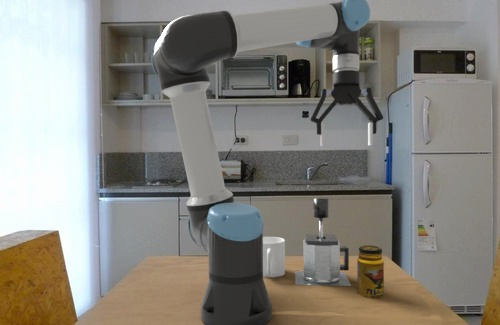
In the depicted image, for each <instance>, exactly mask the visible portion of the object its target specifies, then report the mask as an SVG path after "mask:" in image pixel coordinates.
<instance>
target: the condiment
mask: <svg viewBox="0 0 500 325" xmlns="http://www.w3.org/2000/svg"><path fill="white" fill-rule="evenodd" d="M358 251H359V252H358V258H357V263H356V264H357V266H356V267H357V269H356V270H357V284H356V285H357V292H356V293H357V294H358V295H359V296H361V297H362V298H363V297H364V298H367V299H381V298H383V297H384V295H385V294H384V293H385V286H384V284H385V280H384V279H385V277H384V276H385V275H384V270H385V269H384V267H385V266H384V265H385V262H384V259H383V249H382V248H381V247H380V246H375V245H369V244H367V245H361V246H359V248H358Z"/></svg>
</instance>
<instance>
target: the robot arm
mask: <svg viewBox="0 0 500 325" xmlns="http://www.w3.org/2000/svg"><path fill="white" fill-rule="evenodd" d="M370 10H371V9H370V5H369V3H368V1H367V0H342V1H339V2H330V3H326V4H316V5H308V6H307V5H306V6H299V7H290V8H283V9H282V8H281V9H273V10H265V11H257V12H255V11H254V12H248V13H247V12H246V13H241V14H232V13H231V12H230V11H228V10H220V11H211V12H204V13H203V12H202V13H195V14H189V15H185V16H181V17H178V18H176V19H174V20H173V21H171V22H169V24H166V25H167V26H166V27H165V28H164V29H163V32H162V33H161V36H160V37H159V38H158V39H157V41H156V42H155V44H154V47H153V49H152V52H151V64H152V65H151V66H152V69H153V71H154V73H155V75H156V76H157V78H158V80H159V86H160V89H161V93H162V94H163V95H165V96H167V97H168V98H169V100H170V105H171V108H172V114H173V117H174V123H175V128H176V132H177V137H178V142H179V146H180V151H181V155H182V161H183V164H184V169H185V173H186V174H185V175H186V177H187V182H188V183H187V184H188V188H189V192H190V197H189V198H188V199H187V201H186V203H185V204H186V209H187V214H188V218H187V230H188V234H189V236H190V238H191V240H192V241H193V242H194V243H195V245H197V246H198V247H200V248H202V250H204V251H205V252H207V254H208V283H207V285H206V288H205V292H204V295H203V298H202V302H201V305H200V306H201V307H200V319H201V321H202V322H203V323H204V324H205V325H266V324H268V322H269V321H270V320H271V318H272V315H273V314H272V313H273V311H272V301H271V299H270V296H269V293H268V289H267V286H266V284H265V281H264V277H263V237H264V223H263V222H264V221H263V214H262V212H261V211H260V209H259V208H258V207H256V206H254V205H251V204H246V203H242V202H235V199H234V194H233V192H232V191H230V190H229V189H227V187H225V186H226V185H225V181H224V176H223V172H222V167H221V166H222V165H221V162H220V156H219V151H218V147H217V146H218V145H217V142H216V137H215V132H214V129H213V123H212V116H211V112H210V109H209V103H208V99H207V98H208V97H207V94H206V92H207V90H208V88H209V86H210V85H211V82H210V76H209V71H208V67H209V66H211V65H213V64H215V63H217V62H221V61H223V60H228V59H229V60H230V59H234V58H236V56H237V55H238V53H240V52H247V51H252V50H258V49H259V50H260V49H264V48H270V47H277V46H282V45H288V44H294V43H295V44H296V45H298V46H299V47H302V48H306V49H316V50H317V49H318V50H328V51H329V50H330V51H331V55H332V57H331V58H332V67H331V68H332V69H331V70H332V72H333V74H332V89H326V88H323V89H322V90H321V94H320V99H319V101H318V103H317V105H316V107H315V109H314V111H313V113H312V115H311V117H310V122H312V123H315V124H316V134H317V135H318V136H319V135H320V147H325V123H322V122H323V121H324V119H325V118H326V117H327V116H328V115H329V113H330V112H331V111H333V109H334V108H335V106H336V105H337V104H338V105H339V106H345V105H349V106H351V105H353V104H354V105H355V106H356V107H357V108H358V110H360V111H361V112H362V113H363V115H364V116H365V117H366V118H367V119H368V121H369V122H368V123H367V146H373V145H374V141H373V140H374V135H376V134H377V123H378V122H380V121H382V120H384V115H383V113H382V112H381V110H380V108H379V107H378V104H377V102H376V100H375V98H374V97H373V93H372V88H371V87H367V88H362V89H361V87H360V72H359V71H360V34H361V33H360V32H361V31H360V29H362V28H363V27H365V26H366V25H367V23H368V22H369V20H370V16H371V11H370ZM329 95H330V96H331V97H332V98H333V99H334V100H333V101H332V102H331V103H330V104H329V106H327V108H326V109H325V111H324V112H322V114H321V115H320V117H319V118H317V116H318V115H319V112H320V111H321V108H322V107H323V104H324V102H325V100H326V98H328V97H329ZM360 95H362V96H363V97H365V98H366V101H367V103H368V105H369V106H370V108H371V110H372V111H370V110H369V108H367V106H366V105H365V104H364V103H363V102H362V100H361V99H360V98H359V97H360ZM372 112H373V113H372ZM373 114H374V115H373Z"/></svg>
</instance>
